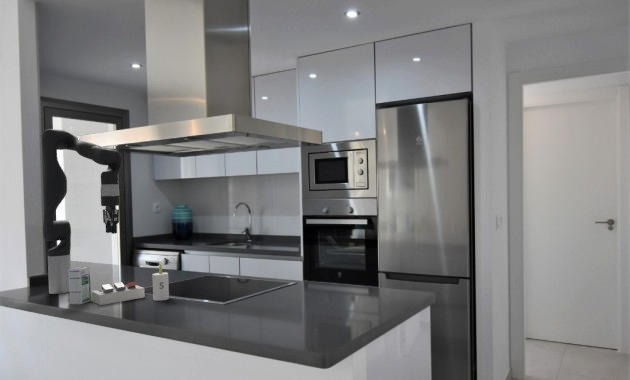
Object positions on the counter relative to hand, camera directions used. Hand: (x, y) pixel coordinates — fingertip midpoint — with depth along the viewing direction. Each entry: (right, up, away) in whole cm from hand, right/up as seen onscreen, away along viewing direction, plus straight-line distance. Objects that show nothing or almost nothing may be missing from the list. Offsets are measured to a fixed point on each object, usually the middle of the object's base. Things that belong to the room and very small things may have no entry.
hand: (111, 233), depth 207 cm
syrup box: (-8, -28, -10) cm, 31 cm away
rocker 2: (+7, -22, -7) cm, 24 cm away
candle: (+25, -27, -9) cm, 37 cm away
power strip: (+7, -27, -4) cm, 29 cm away
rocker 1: (+3, -22, -11) cm, 25 cm away
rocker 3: (+10, -22, -4) cm, 24 cm away
